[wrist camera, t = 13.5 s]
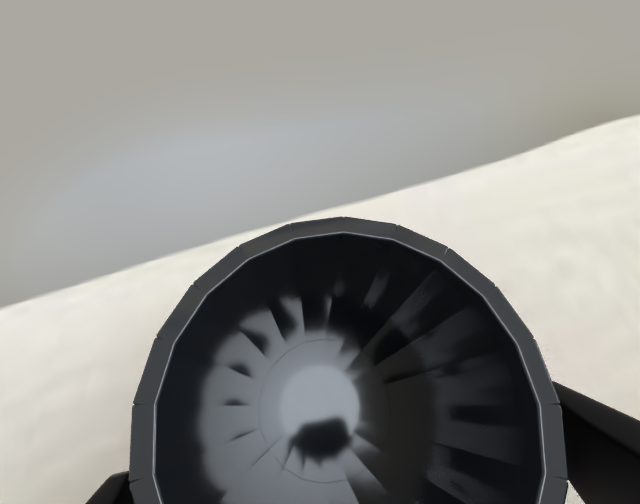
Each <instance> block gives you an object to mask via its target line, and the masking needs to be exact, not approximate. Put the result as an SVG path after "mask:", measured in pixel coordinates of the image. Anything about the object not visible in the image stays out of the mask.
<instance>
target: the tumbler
mask: <svg viewBox="0 0 640 504" xmlns="http://www.w3.org/2000/svg"><path fill="white" fill-rule="evenodd" d="M193 284H194V285H191V286H190V287H189V289H188V290H187V292H186V293H185V295H184V296H183V298H182V299H181V300H180V302H179V303H178V305H177V306H176V308H175V309H174V311H173V312H172V313H171V315H170V316H169V318H168V319H167V321H166V322H165V324H164V325H163V326H162V328H161V329H160V331H159V332H158V334H157V338H155V340H154V342H153V345H152V348H151V351H150V354H149V357H148V360H147V363H146V366H145V369H144V372H143V375H142V378H141V381H140V384H139V387H138V389H137V392H136V395H135V398H134V401H133V404H134V405H133V407H132V422H131V444H130V466H129V482H131V483H130V490H131V494H132V498H133V502H134V504H565V500H566V494H567V489H568V482H567V480H568V468H567V459H566V449H565V439H564V430H563V420H562V410H561V406H560V405H559V404H560V401H559V398H558V396H557V393H556V391H555V388H554V386H553V383H552V381H551V378H550V375H549V373H548V370H547V368H546V365H545V363H544V360H543V358H542V355H541V352H540V350H539V347H538V345H537V342H536V340H535V339H533V338H534V337H533V335H532V333H531V332H530V331H529V329H528V328H527V327H526V325H525V324H524V323H523V321H522V320H521V318H520V317H519V316H518V314H517V313H516V312H515V310H514V309H513V308H512V306H511V305H510V303H509V302H508V301H507V299H506V298H505V297H504V295H503V294H502V293H501V291H500V290H499V288H498V287H495V284H494V283H493V282H491V281H490V280H489V279H488V278H487V277H485V276H484V275H483V274H482V273H480V272H479V271H478V270H477V269H475V268H474V267H473V266H472V265H470V264H469V263H468V262H467V261H466V260H464V259H463V258H462V257H461V256H459V255H458V254H457V253H456V252H454V251H453V250H452V249H450V248H449V249H448V247H447V246H445V245H443V244H441V243H438V242H436V241H434V240H432V239H429V238H427V237H425V236H423V235H420V234H418V233H416V232H414V231H411V230H409V229H407V228H405V227H402V226H400V225H398V226H397V225H396V224H392V223H385V222H378V221H371V220H365V219H358V218H351V217H344V218H343V217H334V218H327V219H319V220H311V221H304V222H296V223H291V224H290V225H289V224H287V225H285V226H282V227H280V228H278V229H275V230H273V231H271V232H268V233H266V234H264V235H261V236H259V237H257V238H255V239H252V240H250V241H248V242H245V243H243V244H241V245H239V247H236V248H235V249H233V250H232V251H231V252H230V253H229V254H227V255H226V256H225V257H224V258H223V259H221V260H220V261H219V262H218V263H216V264H215V265H214V266H213V267H212V268H210V269H209V270H208V271H207V272H206V273H204V274H203V275H202V276H201V277H199V278H198V279H197V280H196V281H195V282H194V283H193Z"/></svg>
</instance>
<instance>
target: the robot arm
mask: <svg viewBox="0 0 640 504" xmlns="http://www.w3.org/2000/svg"><path fill="white" fill-rule="evenodd" d="M552 383H553V386H554V388H555V391H556V393H557V396H558V398H559V401H560V404H559V405H560V406H561V410H562V420H563V430H564V439H565V449H566V459H567V468H568V480H569V481H570V483H571V484H572V486H573V487H574V489H575V490H576V491H577V493H578V494H579V496H580V497H581V498H582V500H583V501H584V503H585V504H640V421H639V420H637V419H635V418H633V417H630V416H628V415H626V414H624V413H622V412H619V411H617V410H615V409H613V408H611V407H609V406H606V405H604V404H602V403H600V402H598V401H596V400H593V399H591V398H589V397H587V396H585V395H582V394H580V393H578V392H576V391H574V390H572V389H569V388H567V387H565V386H563V385H561V384H559V383H556V382H554V381H552ZM130 483H131V482H129V471H127V472H122V473H118V474H114V475H112V476H110V477H109V478H108V479H107V480H106V481H105V482H104V483H103V484H102V485H101V487H100V488H99V489H98V490H97V491H96V492H95V493H94V495H93V496H92V497H91V498H90V499H89V500H88V501H87V503H86V504H134V502H133V498H132V494H131V490H130Z"/></svg>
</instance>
